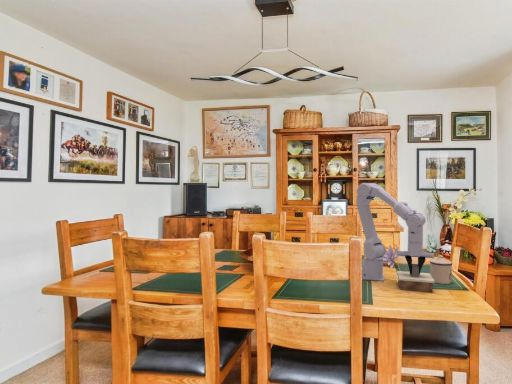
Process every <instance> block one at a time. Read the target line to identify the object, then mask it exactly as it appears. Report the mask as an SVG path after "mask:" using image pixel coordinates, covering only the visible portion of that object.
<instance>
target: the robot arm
mask: <svg viewBox="0 0 512 384" xmlns="http://www.w3.org/2000/svg"><path fill="white" fill-rule="evenodd" d="M356 194H357V195H356V201H355V203H356V207H357V212H358V215H359V219H360V223H361V226H362V230H363V233H364V234H363V235H364V237H365V240H364V243H363V248H364V249H363V254H364V258H362V261H361V270H362V274H361V279H362V280H369V281H381V282H384V281H385V277H384V264H383V256H384V255H385V254H386V251H387V249H386V247H385V246H384V244H383V242H382V240H381V238H379V236H378V233H377V229H376V225H375V223H374V219H373V214H372V209H371V207H370V203H371V201H373V199H375V198H379V199H380V200H382V201H383V202H384V203H386V204H387V205H389V206H390V207H392V208H393V209H392V210H393V212H394V213H395V214H396V215H397V216H398V217H400V218H401V219H402V220H403V221H404V222H405V224H406V226H407V227H408V229H407V251H406V250H405V251H404V250H398V251H397V252H396V255H395V257H396V256H398V257H404V258H405V260H406V264H407V265H408V272H410V274H411V275H412V264H413V259H412V258H417V265H418V266H419V275H420V273H421V271H422V268H423V266H424V264H425V262H426V259H435V253H434V252H424V251H423V249H424V248H423V246H424V245H423V243H424V242H423V241H424V225H425V223H426V217H425V216H424V214H422V213H420V212H417V210H415V209H412V208H411V207H410V206H409V205H408V203H407V202H404V201H398V200H397V199H395V198H394V197H393V196H392V195H391V194H390V193H388V192H387V191H386V190H385V189H384V188H383V186H380V185H379V184H378V183H376V182H373V183H372V182H362V183H360V184H359V185H358V187H357V188H356Z"/></svg>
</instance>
